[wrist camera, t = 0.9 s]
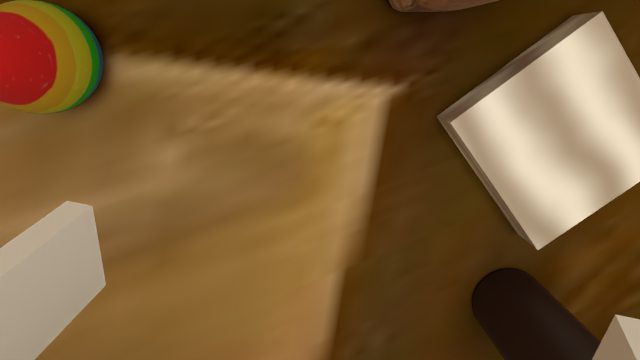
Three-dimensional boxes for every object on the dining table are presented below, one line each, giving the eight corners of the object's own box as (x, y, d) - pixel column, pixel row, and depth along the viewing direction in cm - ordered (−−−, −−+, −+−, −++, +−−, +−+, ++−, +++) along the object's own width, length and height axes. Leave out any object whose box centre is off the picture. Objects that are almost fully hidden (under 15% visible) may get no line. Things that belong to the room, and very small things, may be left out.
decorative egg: (49, -16, 37) (-38, -42, 28) (135, 51, 39) (81, 49, 29) (-4, 64, 39) (-105, 67, 29) (81, 127, 40) (12, 149, 31)
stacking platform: (517, 233, 45) (537, 250, 41) (436, 116, 41) (450, 122, 38) (646, 144, 43) (681, 153, 39) (572, 15, 40) (602, 11, 36)
